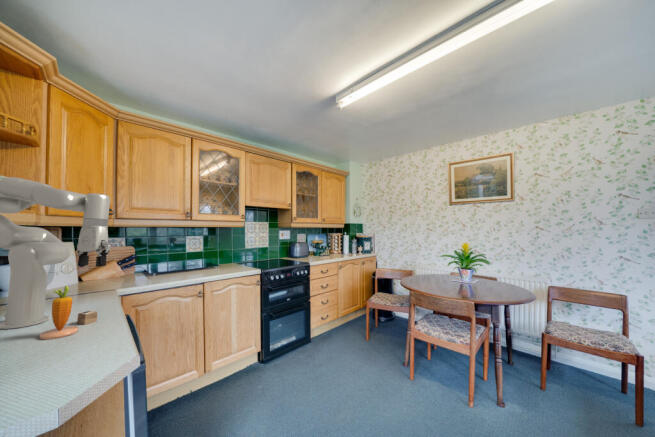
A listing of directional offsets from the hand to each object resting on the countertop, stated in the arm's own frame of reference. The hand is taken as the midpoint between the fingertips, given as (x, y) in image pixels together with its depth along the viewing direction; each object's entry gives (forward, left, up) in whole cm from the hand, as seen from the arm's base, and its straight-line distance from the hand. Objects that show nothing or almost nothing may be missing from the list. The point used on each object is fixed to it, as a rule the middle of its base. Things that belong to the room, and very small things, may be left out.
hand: (91, 265), depth 98 cm
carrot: (+5, -11, -21) cm, 24 cm away
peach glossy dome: (+5, -11, -22) cm, 25 cm away
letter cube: (0, 0, -22) cm, 22 cm away
